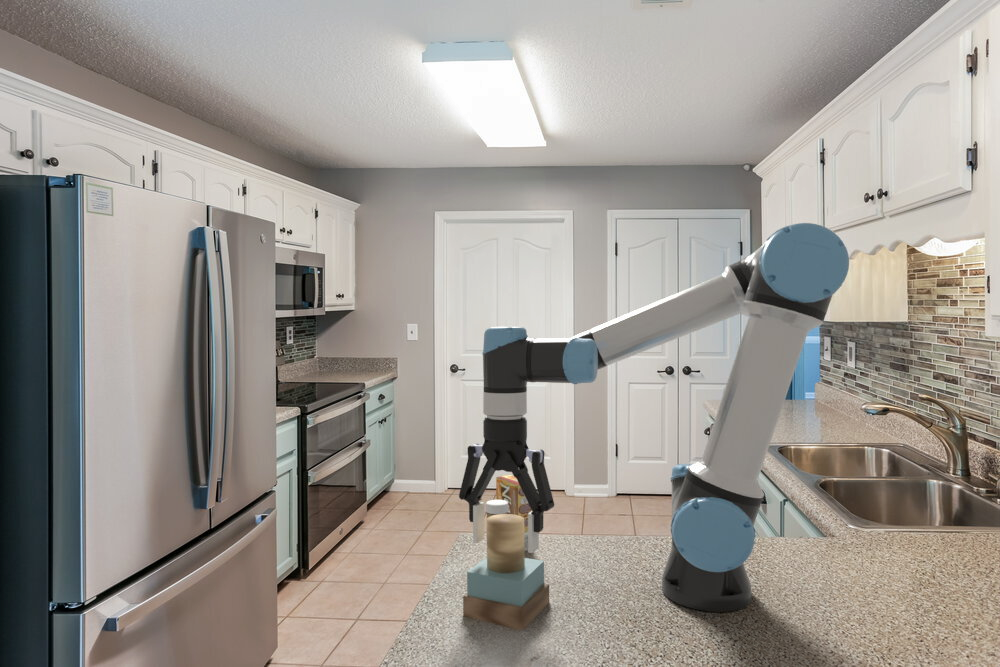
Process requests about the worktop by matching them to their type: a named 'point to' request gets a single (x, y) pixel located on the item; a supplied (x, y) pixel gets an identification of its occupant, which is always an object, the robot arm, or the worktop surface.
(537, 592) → the tower bottom
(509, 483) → the candy box
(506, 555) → the beige piece
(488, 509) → the sprinkles bottle
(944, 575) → the worktop surface
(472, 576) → the tower top
